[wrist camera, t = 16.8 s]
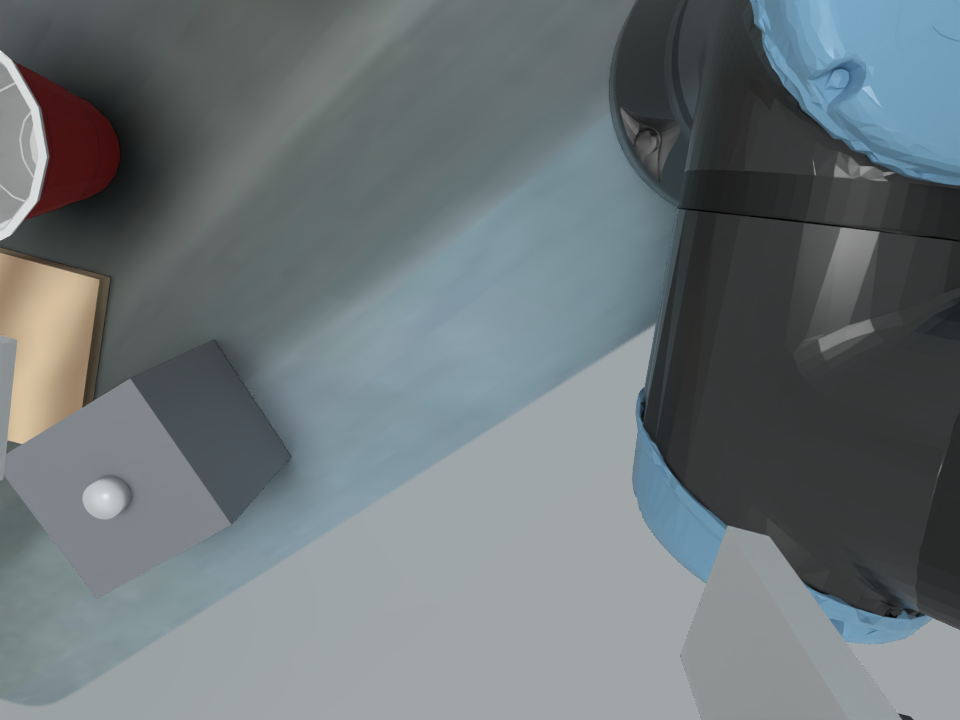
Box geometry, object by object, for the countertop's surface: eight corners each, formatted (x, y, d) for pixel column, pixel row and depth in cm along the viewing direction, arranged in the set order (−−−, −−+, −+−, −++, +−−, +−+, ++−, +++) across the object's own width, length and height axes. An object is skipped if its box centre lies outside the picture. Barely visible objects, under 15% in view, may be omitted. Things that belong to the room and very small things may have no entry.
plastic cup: (118, 275, 45) (-23, 303, 33) (-37, 179, 44) (-238, 172, 32) (197, 121, 42) (74, 93, 31) (35, 17, 42) (-154, -54, 30)
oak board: (110, 277, 45) (99, 279, 44) (86, 451, 48) (75, 458, 46) (-76, 227, 45) (-92, 228, 44) (-89, 405, 47) (-105, 410, 46)
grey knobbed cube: (213, 339, 45) (119, 383, 35) (291, 456, 47) (223, 533, 36) (103, 406, 47) (-21, 468, 36) (181, 517, 48) (85, 609, 38)
